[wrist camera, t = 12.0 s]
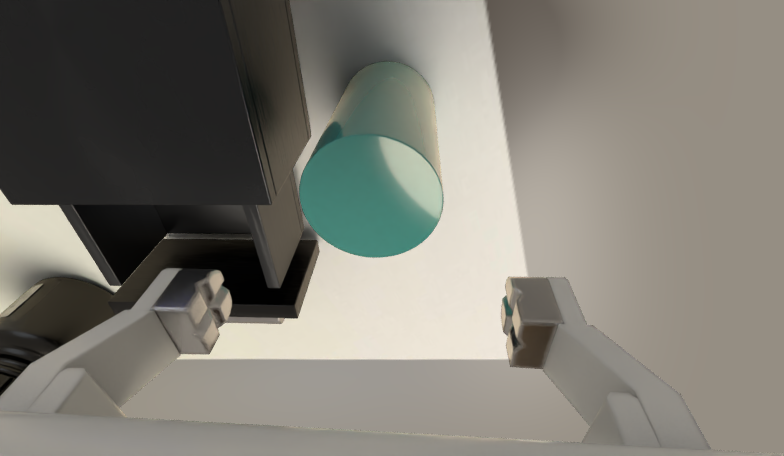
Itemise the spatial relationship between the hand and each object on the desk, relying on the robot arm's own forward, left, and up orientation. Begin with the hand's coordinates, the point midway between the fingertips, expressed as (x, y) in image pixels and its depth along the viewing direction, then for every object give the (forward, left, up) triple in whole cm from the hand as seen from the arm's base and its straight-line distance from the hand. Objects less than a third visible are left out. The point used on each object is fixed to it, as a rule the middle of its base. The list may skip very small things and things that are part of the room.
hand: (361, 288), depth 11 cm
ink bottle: (+30, +19, -16) cm, 39 cm away
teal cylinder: (0, 0, -16) cm, 16 cm away
